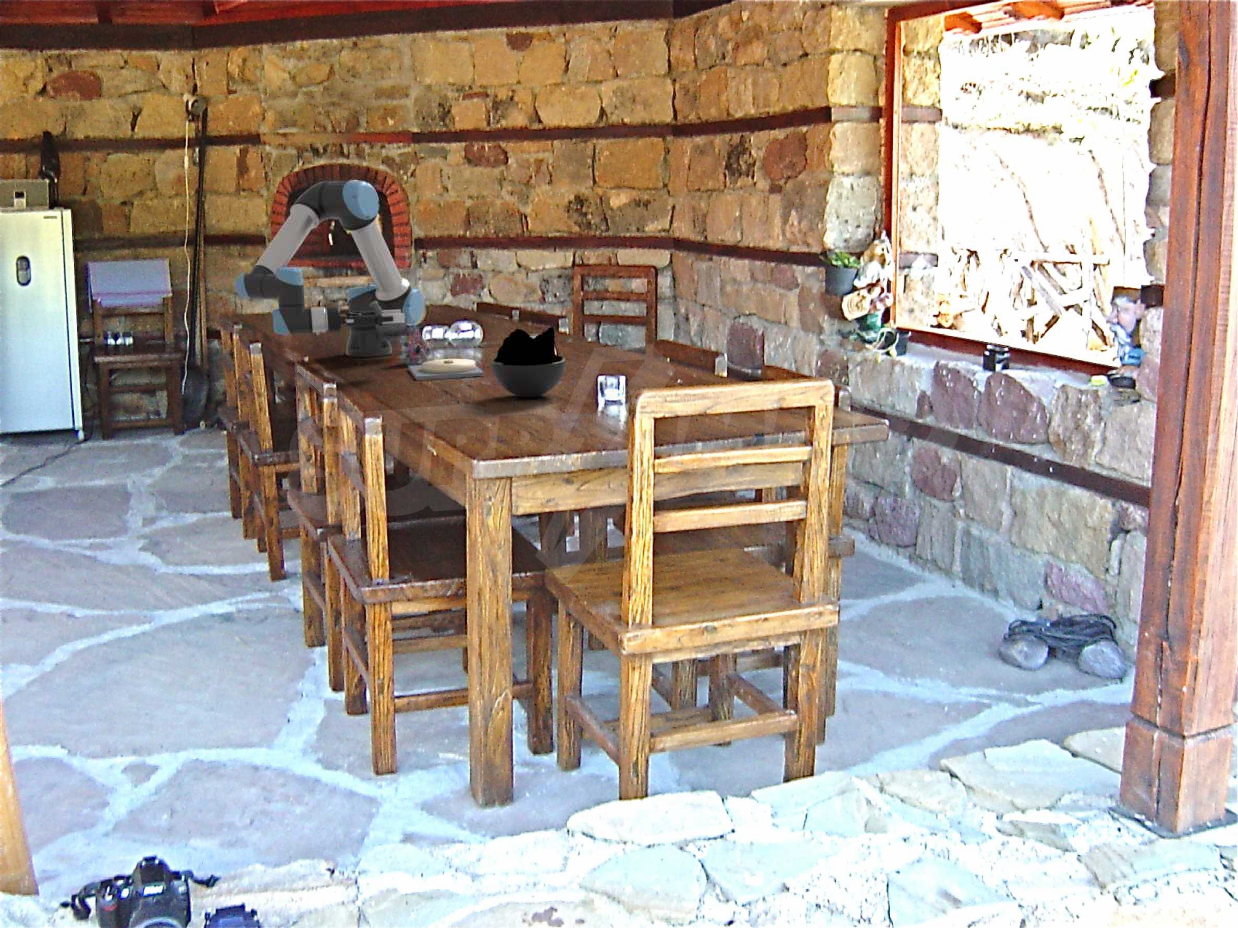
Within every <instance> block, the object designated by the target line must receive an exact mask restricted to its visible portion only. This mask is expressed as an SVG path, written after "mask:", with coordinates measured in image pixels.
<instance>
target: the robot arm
mask: <svg viewBox="0 0 1238 928" xmlns="http://www.w3.org/2000/svg"><path fill="white" fill-rule="evenodd" d="M379 199H380V198H379V196H378V193H377V191H376V189H375V188H374V186H373V185H372V184H370V183H369V182H367V181H364V180H357V179H350V180H323V181H320V182H317V183H315V184H313V185H311V186H310V187H308V189H306V190H305V191H304V192H303V193H302V194H300V196H298V198H297V199H296V200H295V202H294V203H293V204H292V205H291V207H290V210H289V211H290V215H288V217H287V219H286V220H285V222H284V223H283V225H281V228H280V229H279V231H278V232H277V233H276V234H275V236H274V237H273V239H272V240H271V242H270V243H269V244H268V246H267V247H266V249H265V250H264V251H263V253H262V255H260V257H259V259H258V260H257V261H256V263H255V264H254V266H253V267H252V269H250V270H251V271H249V272H244V273H241V274H239V275H237V277H236V279H235V282H234V287H235V292H236V294H237V295H238V296H239V297H240V298H242V299H247V300H273V301H275V300H277V302H278V303H277V305H278V308H275V309H273V310H272V322H273V323H272V324H273V326H272V327H273V331H274V332H273V333H275V334H276V335H290V336H291V335H303V334H304V335H305V334H315V335H317V336H319V335H320V334H321V333H327V331H328V332H329V333H341V330H342V325H346V326H347V327H349V336H348V339H347V342H346V343H347V344H346V347H345V353H346V356H348V357H353V358H354V357H355V358H370V357H372V358H373V357H383V356H388V355H391V354H392V353H393V352H392V351H393V349H392V345H391V341H382V335H381V334H380V333H379V332H378V331H377V329H376V326H375V325H380V326H382V324H387V323H405V320H404V316H406V319H407V323H406V326H407V325H408V326H409V325H415V324H417V323H418V322H419V320H420V319H421V318H422V316H423V313H424V309H425V300H424V295H423V292H422V291H421V290H419V289H417V288H412V287H411V284H410V283H409V282H410V281H409V280H408V279H407V278H404V277H402V276H401V274H400V272H399V269H398V268H397V265H396V263H395V260H394V258H393V256H392V255H391V251H390V250H389V247H388V245H387V243H386V241H385V239H384V236H383V234H382V233H381V232H382V231H380V228H379V226H378V224H377V218H378V212H379V209H380V204H379V202H380V200H379ZM328 219H329V220H338V221H339V223H340V225H341V227H342V228H343V230H345V231H347V232H350V234H351V236H352V238H353V240H354V242H355V244H356V247H357V248H358V252H359V253H360V255H361V257H362V259H363V261H364V264H365V266H366V268H367V270H368V272H369V274H370V276H371V277H372V280H373V283H374V284H371V285H370V284H369V285H363V286H356V287H355V286H354V287H351V288H350V289H348V291H347V305H348V306H347V307H348V311H345V312H343V313H341V310H340V307H339V306H336V305H335V306H327V307H326V308H325V306H314V307H313V306H312V307H306V306H305V305H306V301H305V287H304V283H305V282H304V278H303V271H302V269H301V267H297V266H296V267H295V266H290V267H289V266H288V264H289V263H290V261H291V259H292V258H293V256H294V255H295V254H296V252H297V251H298V250H299V248H300V247H301V246H302V243H303V242H304V241H305V239H306V237H307V236H308V235H309V233H310V232H311V230H313V229H316V228H317V227H318V226H319V225H320V224H321V223H322V222H324V221H326V220H328ZM287 266H288V267H287ZM373 301H377V302H378V305H379V306H380V308H381V309H382V311H383V312H384V313H385V314H382V315H375V314H374V312H373V310H372V308H370V307H369V304H370V303H372V302H373Z"/></svg>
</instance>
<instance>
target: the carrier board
mask: <svg viewBox="0 0 1238 928" xmlns="http://www.w3.org/2000/svg"><path fill="white" fill-rule="evenodd" d="M408 371H409V372H410V374H411V375H412V376H413V378H414V379H415V380H416V381H429V380H445V379H448V380H449V379H460V378H461V377H465V378H474V377H473V376H481V377H485V372H484V371H483V370H482V369H480V367H479V366H477V365H476V360H474V359H467V358H466V359H464V358H447V359H446V358H444V359H433V360H432V361H427V362H424V363H422V365H415V366H408Z"/></svg>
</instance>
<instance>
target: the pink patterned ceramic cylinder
mask: <svg viewBox="0 0 1238 928" xmlns="http://www.w3.org/2000/svg"><path fill="white" fill-rule="evenodd" d="M401 337H402V340H400V341H399V343H401V344H402V345H401V353H402V354H400V355H398V356H397V358H398V359H400V361H402V363H404V364H405V365H406V366H407V367H409V366H415V365H422V363H424V362H427V361H432V360H435V359H434V354H433V352H432V348H431V347H430V346H427V345H426V343H425V341H424V338H423V336H422V335H421V333H420V332H419V330H418V329H415V330H414V333H413V335H412V339H411V340H410V341H409V340H408V337H407V336H406V335H404V336H403V335H401Z"/></svg>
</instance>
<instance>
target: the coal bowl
mask: <svg viewBox="0 0 1238 928" xmlns="http://www.w3.org/2000/svg"><path fill="white" fill-rule="evenodd" d="M509 333H510V334H508V336H507V337H505V338H504V339H503V342H502V345H501V346H500V347H499V348H498V349H497V354H496V358H494V359H493V360H491V362H490V363H491V369H492V372H493V375H494V377H495V379H496V381H497V382H498V383H499V385H500V386H501V387H502V388H503V389H505V390H506V391H507V392H508V393H510V394H513V395H515V396H517V397H520V398H521V397H522V398H536V396H537V397H539V396H543V395H544V394H546V393H547V394H548V393H549V392H550V391H551V390H553V389H554V388H555V387H556V386H557V385H558V383H559V382H560V380H561V378H562V377H563V375H564V372H565V368H566V358H564V357H563V356H560V355H557V354H556V349H555V348H556V347H555V337H556V336H555V335H556V334H555V328H554V327H553V326H550V327H548V328H547V330H545V331H542V332H541V333H538V334H537V335H535V336H534V338H533V337H532V336H531V335H530V334H529V333H528V332H526V330H524V329H521V328H516V329H515V330H514V331H512V332H509Z"/></svg>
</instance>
